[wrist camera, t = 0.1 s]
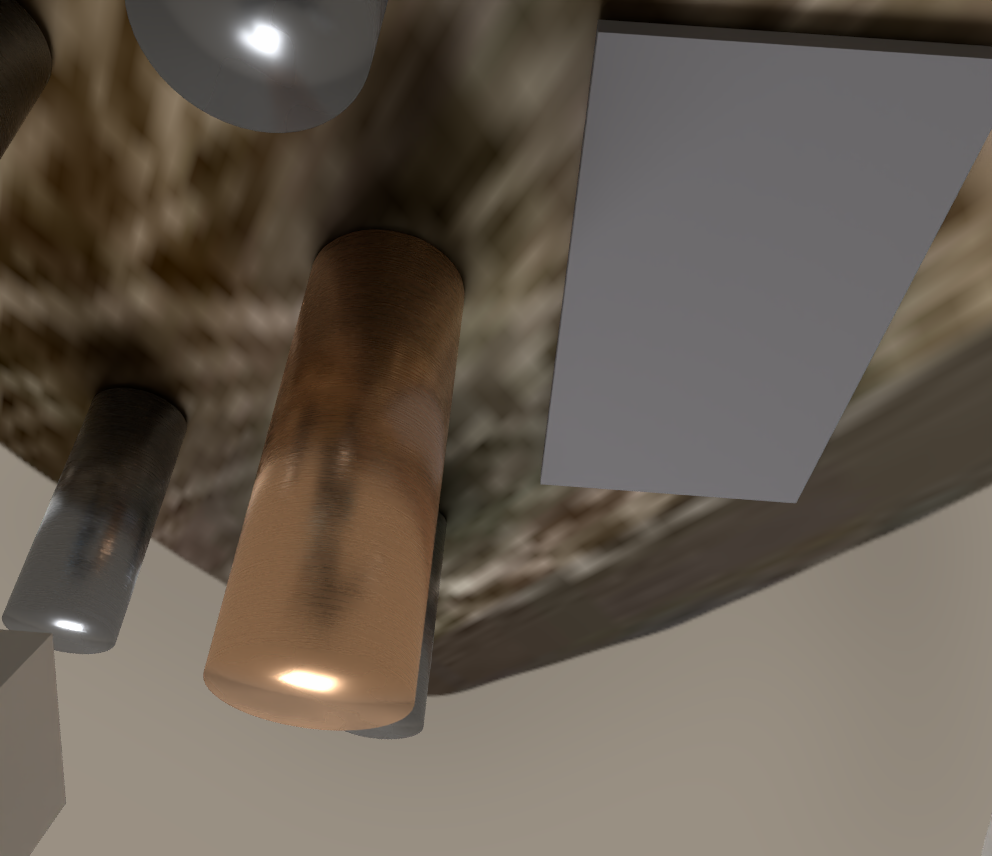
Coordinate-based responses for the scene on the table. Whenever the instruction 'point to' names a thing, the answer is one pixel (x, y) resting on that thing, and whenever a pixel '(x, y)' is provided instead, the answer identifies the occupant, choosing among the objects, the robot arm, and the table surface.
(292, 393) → the cylinder
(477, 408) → the table surface
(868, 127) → the rubber mat
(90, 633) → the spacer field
